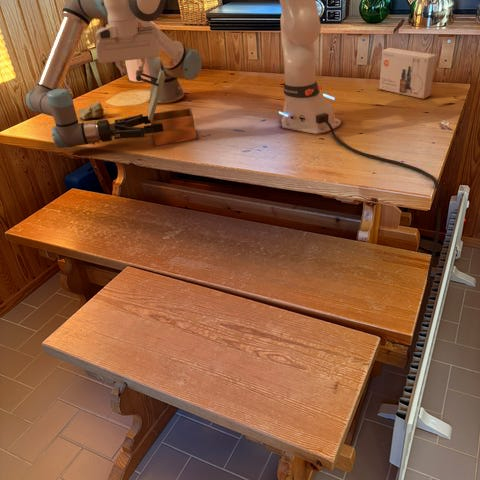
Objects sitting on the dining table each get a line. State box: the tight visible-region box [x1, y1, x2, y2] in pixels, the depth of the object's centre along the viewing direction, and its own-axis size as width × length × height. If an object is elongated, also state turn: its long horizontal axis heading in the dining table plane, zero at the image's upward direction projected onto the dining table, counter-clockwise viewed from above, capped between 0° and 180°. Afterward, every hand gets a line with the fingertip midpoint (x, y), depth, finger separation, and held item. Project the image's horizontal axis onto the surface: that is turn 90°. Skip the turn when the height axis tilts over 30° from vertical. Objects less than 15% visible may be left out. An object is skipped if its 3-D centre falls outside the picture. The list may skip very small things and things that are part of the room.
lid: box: [136, 70, 165, 121], centre depth 159 cm, size 16×9×9 cm
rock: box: [78, 101, 105, 121], centre depth 195 cm, size 11×6×10 cm
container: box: [124, 21, 161, 83], centre depth 235 cm, size 21×21×28 cm
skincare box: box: [378, 47, 437, 100], centre depth 184 cm, size 21×6×16 cm, turn 40°
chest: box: [150, 107, 197, 146], centre depth 167 cm, size 15×9×9 cm, turn 101°
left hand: (162, 122), depth 166 cm, fingers closed on chest, 9 cm apart
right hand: (132, 73), depth 155 cm, fingers open, 5 cm apart
